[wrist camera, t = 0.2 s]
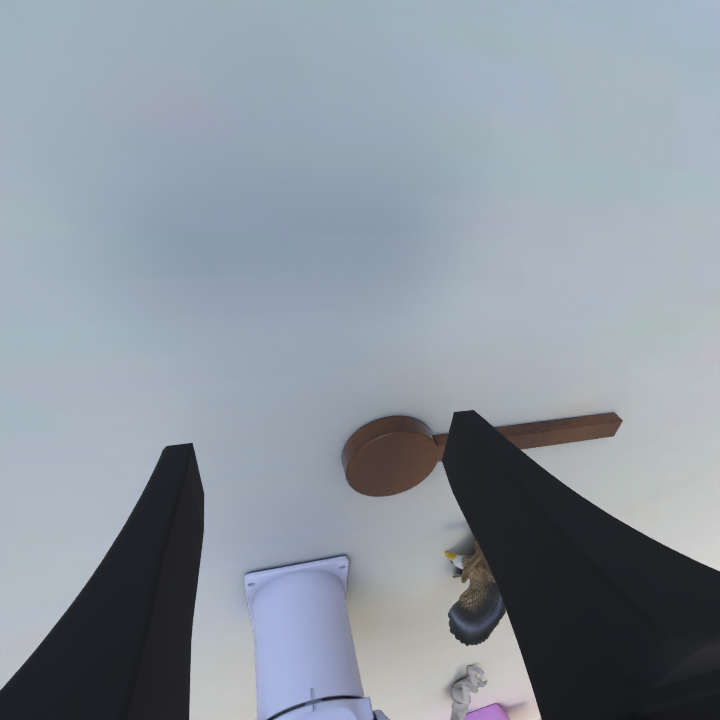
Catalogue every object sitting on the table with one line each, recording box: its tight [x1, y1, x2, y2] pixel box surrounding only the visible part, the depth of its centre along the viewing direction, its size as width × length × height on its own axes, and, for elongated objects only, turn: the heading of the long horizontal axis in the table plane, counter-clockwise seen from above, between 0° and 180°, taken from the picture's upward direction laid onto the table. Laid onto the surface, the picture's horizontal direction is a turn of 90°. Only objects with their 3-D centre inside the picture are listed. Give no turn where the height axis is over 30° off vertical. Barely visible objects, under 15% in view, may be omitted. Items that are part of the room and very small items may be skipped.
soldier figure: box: [451, 666, 487, 720], centre depth 61 cm, size 8×5×12 cm
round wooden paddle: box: [342, 413, 622, 497], centre depth 29 cm, size 20×6×1 cm, turn 86°
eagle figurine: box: [445, 539, 506, 646], centre depth 37 cm, size 8×7×9 cm
